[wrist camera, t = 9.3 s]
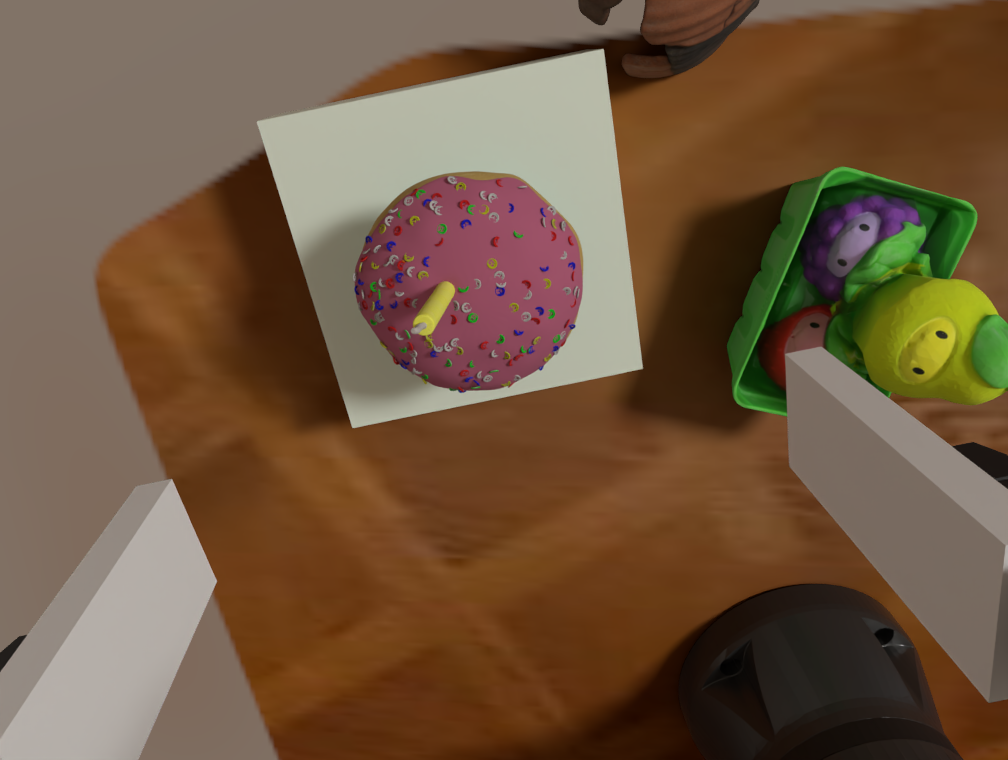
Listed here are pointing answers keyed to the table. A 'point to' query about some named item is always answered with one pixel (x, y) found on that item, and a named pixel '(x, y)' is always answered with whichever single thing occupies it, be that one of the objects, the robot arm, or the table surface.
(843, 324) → the fruit basket
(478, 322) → the cupcake
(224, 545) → the table surface
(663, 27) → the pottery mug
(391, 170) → the sage stand
